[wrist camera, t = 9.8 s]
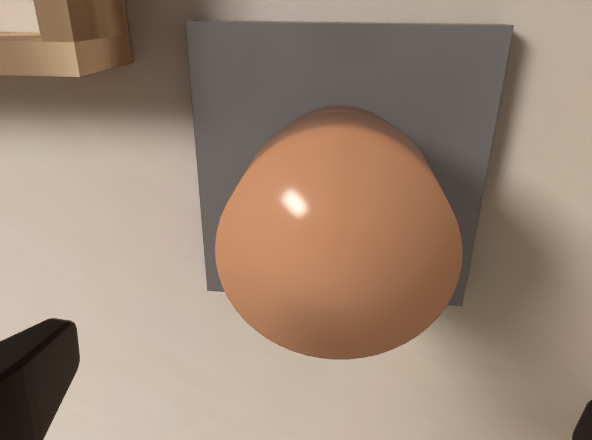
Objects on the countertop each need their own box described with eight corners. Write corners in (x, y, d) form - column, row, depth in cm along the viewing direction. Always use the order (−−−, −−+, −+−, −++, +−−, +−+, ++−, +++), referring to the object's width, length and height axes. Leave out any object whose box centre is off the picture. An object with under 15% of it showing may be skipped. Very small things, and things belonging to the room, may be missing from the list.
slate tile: (504, 24, 16) (513, 25, 16) (456, 292, 21) (461, 306, 20) (193, 20, 17) (185, 21, 16) (213, 278, 22) (207, 290, 21)
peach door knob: (356, 56, 16) (363, 86, 10) (456, 194, 18) (510, 286, 12) (223, 163, 18) (165, 239, 13) (323, 278, 20) (314, 392, 14)
